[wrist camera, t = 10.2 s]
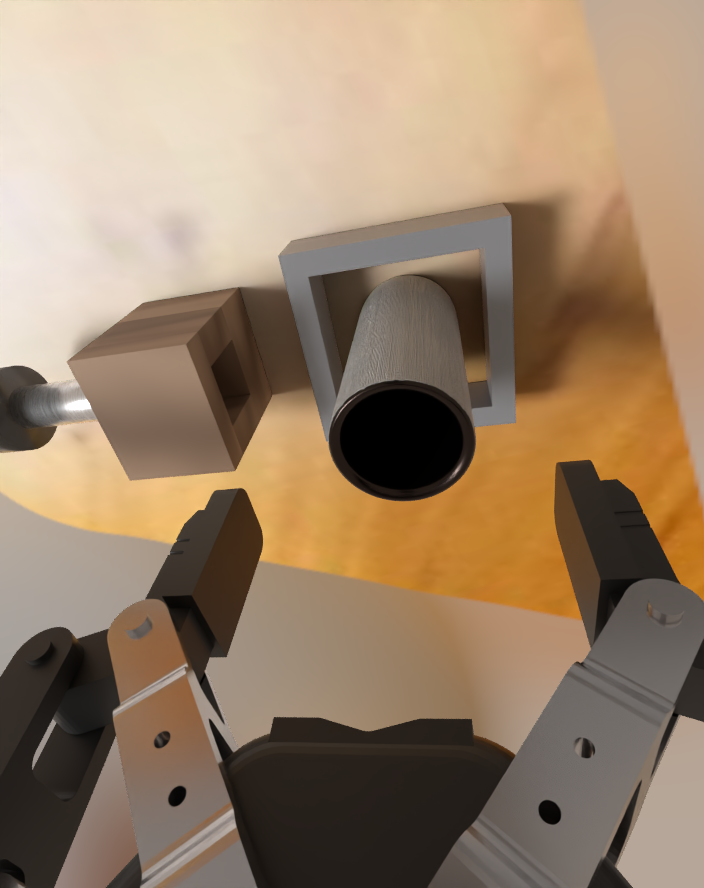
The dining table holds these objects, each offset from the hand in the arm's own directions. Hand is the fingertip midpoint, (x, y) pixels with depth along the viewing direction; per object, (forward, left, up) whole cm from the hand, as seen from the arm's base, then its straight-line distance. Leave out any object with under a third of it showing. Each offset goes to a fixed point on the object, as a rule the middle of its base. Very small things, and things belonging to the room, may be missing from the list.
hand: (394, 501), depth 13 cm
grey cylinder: (0, 0, -13) cm, 13 cm away
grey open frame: (0, 0, -13) cm, 13 cm away
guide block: (0, -10, -13) cm, 17 cm away
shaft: (0, -15, -11) cm, 19 cm away
